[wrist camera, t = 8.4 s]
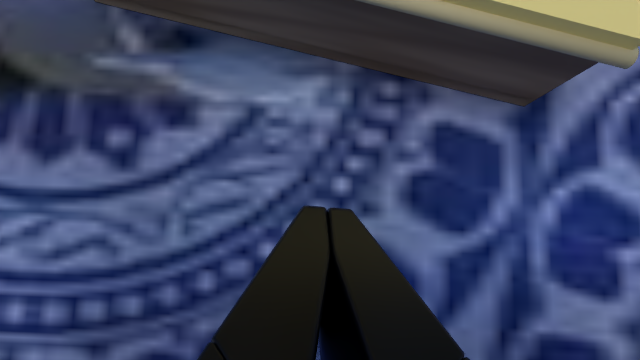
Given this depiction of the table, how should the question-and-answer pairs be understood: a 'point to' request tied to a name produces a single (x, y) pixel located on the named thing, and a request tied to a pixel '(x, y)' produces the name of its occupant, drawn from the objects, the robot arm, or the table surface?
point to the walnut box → (382, 42)
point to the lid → (543, 23)
